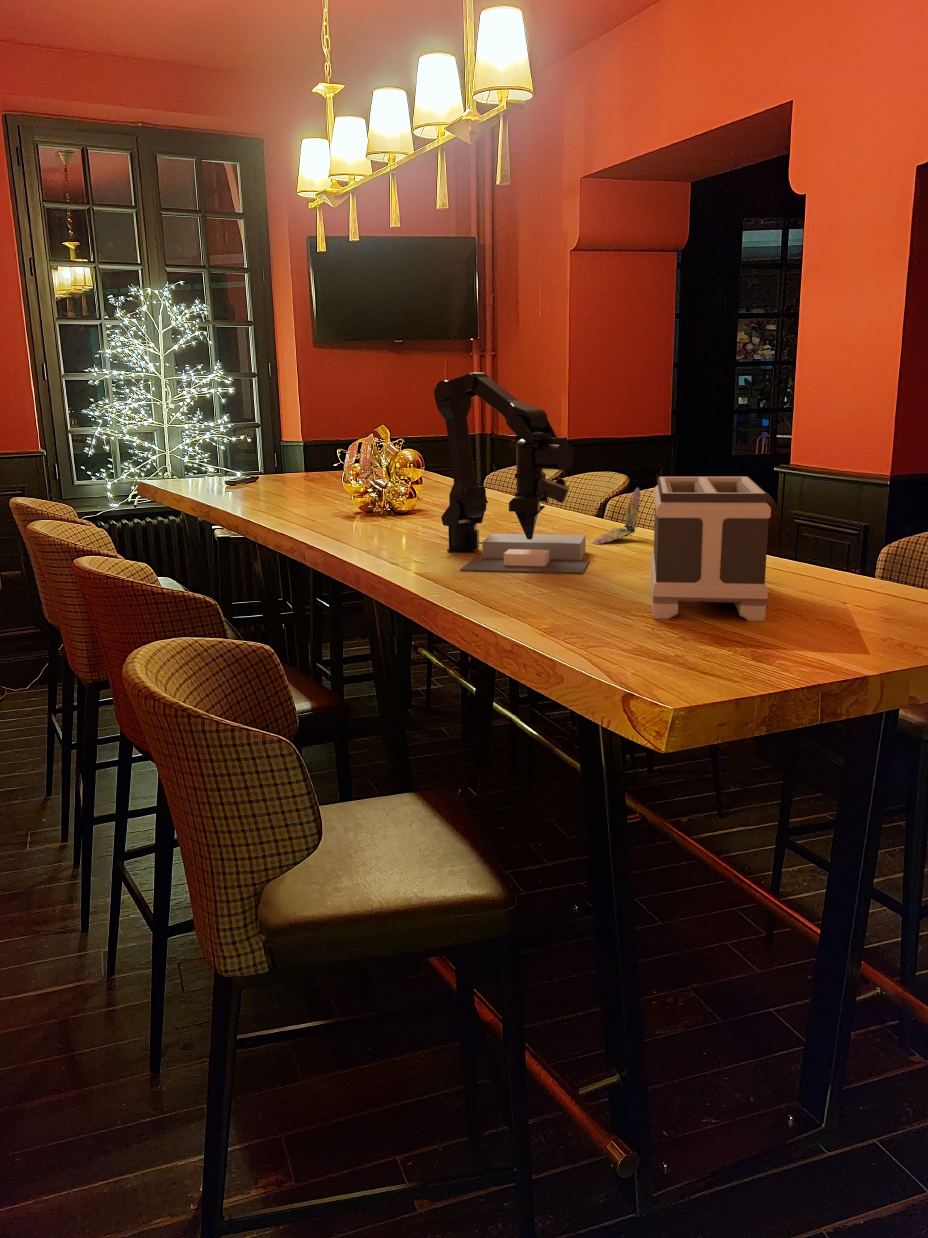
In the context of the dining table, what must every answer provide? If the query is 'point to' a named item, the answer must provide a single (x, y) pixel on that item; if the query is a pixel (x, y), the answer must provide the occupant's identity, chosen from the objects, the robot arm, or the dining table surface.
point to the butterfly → (631, 518)
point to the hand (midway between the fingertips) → (529, 539)
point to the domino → (526, 557)
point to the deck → (536, 545)
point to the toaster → (710, 544)
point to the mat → (552, 567)
